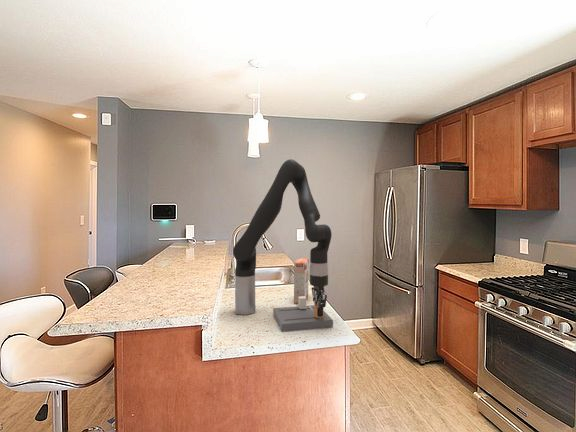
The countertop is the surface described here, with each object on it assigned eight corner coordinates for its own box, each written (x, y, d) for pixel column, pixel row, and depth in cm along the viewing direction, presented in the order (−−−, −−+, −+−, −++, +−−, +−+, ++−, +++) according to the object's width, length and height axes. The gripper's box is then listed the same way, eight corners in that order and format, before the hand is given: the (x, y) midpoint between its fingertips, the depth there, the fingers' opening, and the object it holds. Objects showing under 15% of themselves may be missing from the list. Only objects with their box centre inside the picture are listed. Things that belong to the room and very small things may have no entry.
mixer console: (281, 331, 125) (281, 323, 125) (273, 314, 145) (273, 307, 145) (332, 327, 130) (332, 319, 129) (318, 311, 149) (318, 304, 149)
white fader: (300, 309, 142) (299, 298, 141) (298, 307, 144) (298, 296, 144) (306, 308, 142) (306, 298, 142) (304, 306, 145) (304, 296, 145)
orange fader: (316, 317, 131) (316, 306, 130) (314, 315, 134) (314, 304, 133) (323, 317, 131) (323, 305, 131) (321, 314, 134) (321, 303, 134)
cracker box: (305, 304, 160) (305, 262, 159) (293, 303, 161) (293, 262, 160) (309, 296, 173) (309, 257, 173) (298, 295, 175) (298, 257, 174)
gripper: (305, 270, 138) (305, 310, 138) (315, 277, 124) (315, 321, 125) (322, 269, 139) (322, 308, 140) (333, 276, 126) (333, 320, 126)
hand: (318, 314), depth 132 cm, fingers closed on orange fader, 3 cm apart
